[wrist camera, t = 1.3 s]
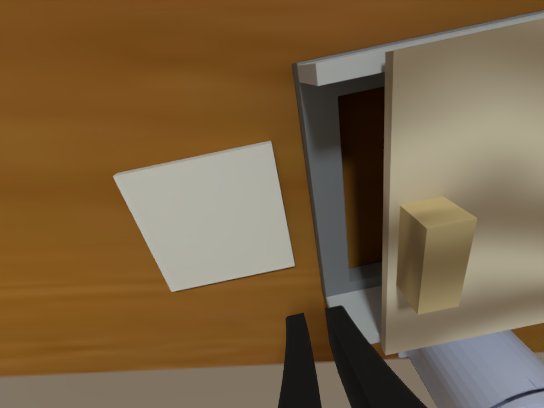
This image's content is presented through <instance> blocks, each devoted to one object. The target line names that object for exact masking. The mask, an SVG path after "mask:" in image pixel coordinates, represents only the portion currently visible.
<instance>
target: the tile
mask: <svg viewBox="0 0 544 408" xmlns="http://www.w3.org/2000/svg"><path fill="white" fill-rule="evenodd" d="M113 178H114V180H115V182H116V184H117V186H118V188H119V190H120V192H121V194H122V196H123V198H124V200H125V201H126V203H127V205H128V207H129V209H130V211H131V213H132V215H133V217H134V219H135V221H136V223H137V225H138V227H139V229H140V231H141V233H142V235H143V237H144V239H145V241H146V243H147V245H148V247H149V249H150V251H151V253H152V255H153V256H154V258H155V260H156V262H157V264H158V266H159V268H160V270H161V272H162V274H163V276H164V278H165V280H166V282H167V284H168V286H169V288H170V290H171V292H174V291H178V290H183V289H188V288H193V287H198V286H202V285H207V284H212V283H217V282H221V281H226V280H231V279H236V278H241V277H245V276H250V275H255V274H260V273H264V272H269V271H274V270H279V269H284V268H288V267H293V266H295V264H294V259H293V253H292V248H291V243H290V238H289V232H288V227H287V222H286V217H285V211H284V206H283V201H282V196H281V190H280V185H279V180H278V174H277V169H276V164H275V159H274V153H273V148H272V143H271V141H267V142H262V143H257V144H252V145H248V146H243V147H238V148H233V149H229V150H224V151H219V152H215V153H210V154H205V155H200V156H196V157H191V158H186V159H181V160H177V161H172V162H167V163H162V164H158V165H153V166H148V167H144V168H139V169H134V170H129V171H125V172H120V173H117V174H115V175H114V176H113Z"/></svg>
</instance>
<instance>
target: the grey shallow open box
mask: <svg viewBox="0 0 544 408" xmlns="http://www.w3.org/2000/svg"><path fill="white" fill-rule="evenodd" d="M543 18H544V10H543V11H538V12H534V13H529V14H524V15H520V16H515V17H510V18H505V19H501V20H496V21H491V22H487V23H482V24H477V25H473V26H468V27H463V28H458V29H454V30H449V31H444V32H440V33H435V34H430V35H425V36H421V37H416V38H411V39H407V40H402V41H397V42H393V43H388V44H383V45H378V46H374V47H369V48H364V49H360V50H355V51H350V52H345V53H341V54H336V55H331V56H327V57H322V58H317V59H313V60H308V61H303V62H298V63H294V64H292V67H293V74H294V82H295V89H296V97H297V104H298V112H299V119H300V127H301V134H302V142H303V149H304V157H305V164H306V172H307V179H308V187H309V194H310V202H311V209H312V217H313V224H314V232H315V239H316V247H317V254H318V262H319V269H320V277H321V284H322V291H323V294H324V297H325V300H326V303H327V305H328V308H330V307H334V306H339V305H342V306H343V307H344V308H345V309H346V311H347V313H348V314H349V316H350V317H351V319H352V320H353V322H354V323H355V324H356V326H357V327H358V329H359V330H360V331H361V333H362V334H363V335H364V337H365V338H366V339H367V340H368V342H369V343H370V344H373V343H377V342H381V321H382V262H377V263H373V264H368V265H363V266H358V267H353V268H349V265H348V250H347V234H346V219H345V203H344V188H343V172H342V156H341V141H340V125H339V110H338V96H341V95H346V94H351V93H356V92H360V91H365V90H370V89H374V88H379V87H384V86H385V52H388V51H392V50H397V49H402V48H406V47H411V46H416V45H421V44H425V43H430V42H435V41H439V40H444V39H449V38H453V37H458V36H463V35H468V34H472V33H477V32H482V31H486V30H491V29H496V28H501V27H505V26H510V25H515V24H519V23H524V22H529V21H534V20H538V19H543Z"/></svg>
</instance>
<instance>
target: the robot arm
mask: <svg viewBox="0 0 544 408" xmlns="http://www.w3.org/2000/svg"><path fill="white" fill-rule="evenodd" d="M325 311H326V319H327V327H328V334H329V342H330V345H331V349H332V353H333V356H334V360H335V363H336V367H337V370H338V373H339V376H340V378H341V381H342V384H343V386H344V389H345V392H346V394H347V397H348V400H349V402H350V405H351V407H352V408H427V407H426V406H425V405H424V404H423V403H422V402H421V401H420V400H419V399H418V398H417V397H416V396H415V395H414V394H413V393H412V392H411V390H410V389H409V388H408V387H407V386H406V385H405V384H404V383H403V382H402V381H401V379H399V377H398V376H397V375H396V374H395V373H394V372H393V371H392V370H391V368H390V367H389V366H388V365H387V364H386V362H385V361H384V360H383V359H382V358H381V356H380V355H379V354H378V353H377V352H376V350H375V349H374V348H373V347H372V346H371V344H370V343H369V342H368V340H367V339H366V338H365V337H364V335H363V334H362V333H361V331H360V330H359V329H358V327H357V326H356V324H355V323H354V322H353V320H352V319H351V317H350V316H349V314H348V313H347V311H346V309H345V308H344V307H343V306H342V305H339V306H334V307H330V308H325ZM397 354H398V356H399V357H400V358H405V357H409V358H410V360H411V362H412V364H413V365H414V367H415V369H416V371H417V372H418V374H419V376H420V378H421V379H422V381H423V383H424V385H425V386H426V388H427V390H428V392H429V393H430V395H431V397H432V399H433V400H434V402H435V404H436V406H437V407H438V408H544V363H543V362H542V361H541V360H540V359H539V358H538V357H537V356H536V355H535V354H534V353H533V352H532V351H531V350H530V349H529V348H528V347H527V346H526V345H525V344H524V343H523V342H522V341H521V340H520V339H519V338H518V337H517V336H516V335H515V334H514V333H513V332H512V331H511V330H505V331H500V332H496V333H491V334H486V335H481V336H476V337H472V338H467V339H462V340H457V341H452V342H447V343H443V344H438V345H433V346H428V347H423V348H419V349H414V350H409V351H404V352H399V353H397ZM278 408H322V407H321V401H320V394H319V387H318V381H317V375H316V370H315V364H314V358H313V353H312V348H311V342H310V337H309V332H308V328H307V324H306V320H305V316H304V313H301V314H296V315H291V316H288V317H287V318H286V351H285V362H284V371H283V380H282V386H281V392H280V399H279V405H278Z"/></svg>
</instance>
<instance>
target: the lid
mask: <svg viewBox="0 0 544 408" xmlns="http://www.w3.org/2000/svg"><path fill="white" fill-rule="evenodd" d="M539 323H544V18H543V19H538V20H534V21H529V22H524V23H519V24H515V25H510V26H505V27H501V28H496V29H491V30H486V31H482V32H477V33H472V34H468V35H463V36H458V37H453V38H449V39H444V40H439V41H435V42H430V43H425V44H421V45H416V46H411V47H406V48H402V49H397V50H392V51H388V52H385V114H384V183H383V252H382V321H381V348H382V350H383V352H384V354H385V355H390V354H394V353H399V352H404V351H409V350H414V349H419V348H423V347H428V346H433V345H438V344H443V343H447V342H452V341H457V340H462V339H467V338H472V337H476V336H481V335H486V334H491V333H496V332H500V331H505V330H510V329H515V328H520V327H524V326H529V325H534V324H539Z"/></svg>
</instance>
